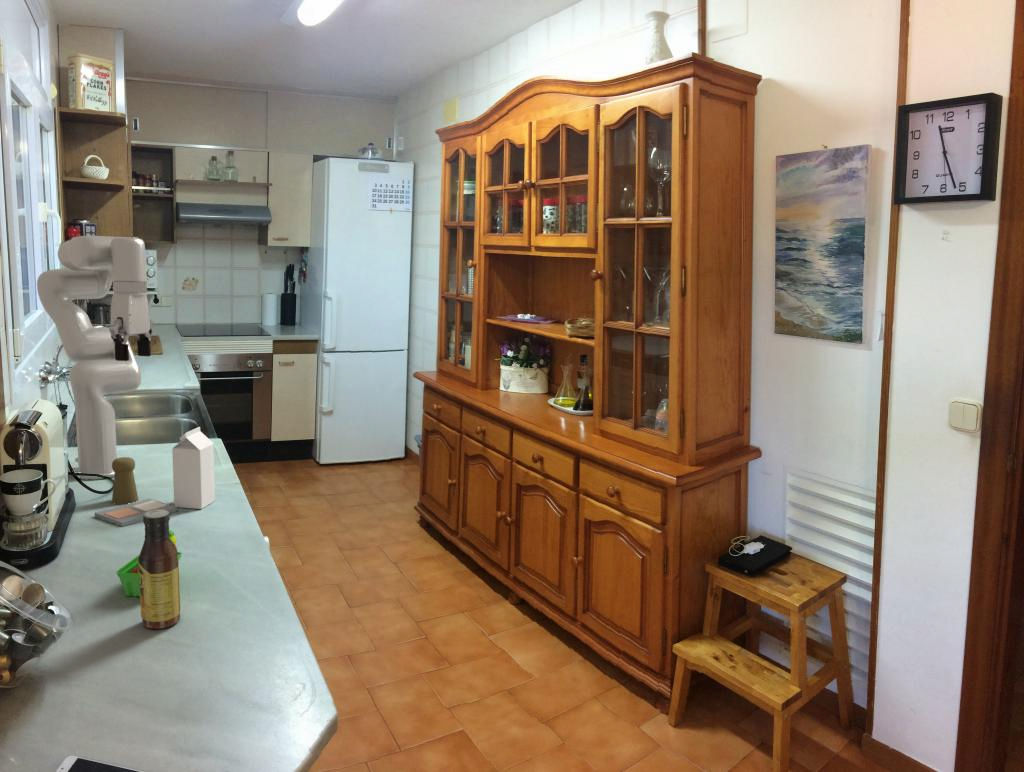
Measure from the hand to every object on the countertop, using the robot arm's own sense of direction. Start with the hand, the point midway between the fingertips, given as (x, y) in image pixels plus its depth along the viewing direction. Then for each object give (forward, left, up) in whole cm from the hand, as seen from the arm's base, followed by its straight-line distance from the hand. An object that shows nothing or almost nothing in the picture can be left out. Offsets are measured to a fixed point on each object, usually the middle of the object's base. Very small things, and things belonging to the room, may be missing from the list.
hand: (133, 358), depth 198 cm
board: (+12, -9, -35) cm, 38 cm away
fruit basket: (+52, -31, -36) cm, 70 cm away
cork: (+1, -5, -36) cm, 36 cm away
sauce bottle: (+66, -39, -36) cm, 84 cm away
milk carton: (+16, +4, -36) cm, 39 cm away
